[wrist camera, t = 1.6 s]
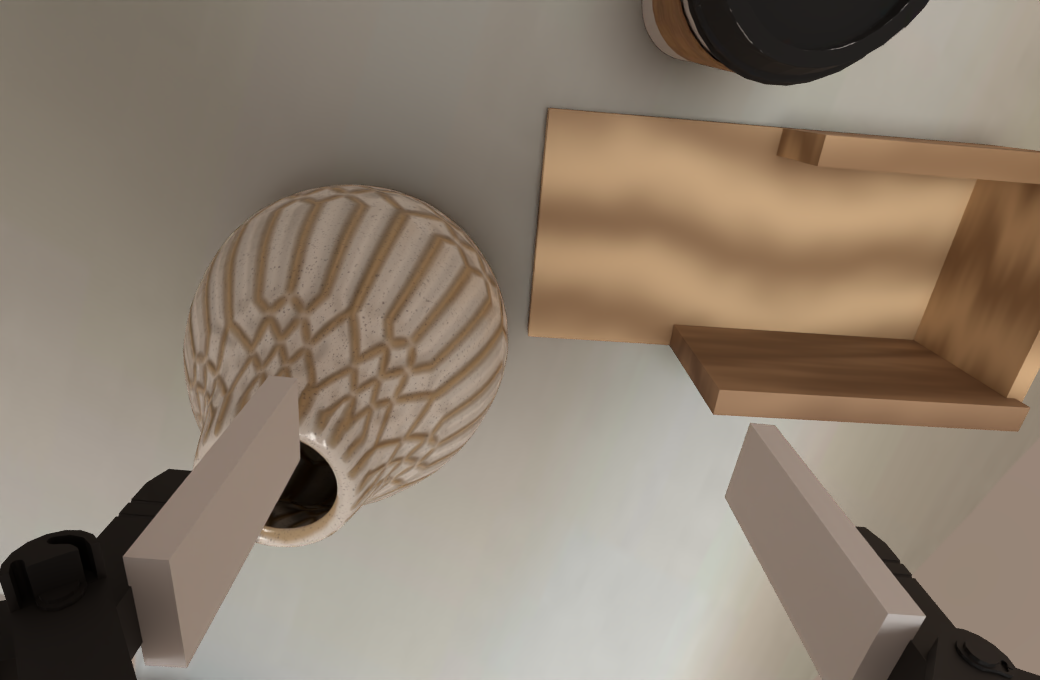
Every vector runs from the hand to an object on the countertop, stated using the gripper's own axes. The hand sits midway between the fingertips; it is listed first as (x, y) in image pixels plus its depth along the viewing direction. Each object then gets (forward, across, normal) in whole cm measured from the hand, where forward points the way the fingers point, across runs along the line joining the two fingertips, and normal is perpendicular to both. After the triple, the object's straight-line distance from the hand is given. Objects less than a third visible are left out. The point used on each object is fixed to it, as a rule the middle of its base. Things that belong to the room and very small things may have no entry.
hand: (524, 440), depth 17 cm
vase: (+22, -8, -4) cm, 24 cm away
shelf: (+22, +15, +2) cm, 26 cm away
